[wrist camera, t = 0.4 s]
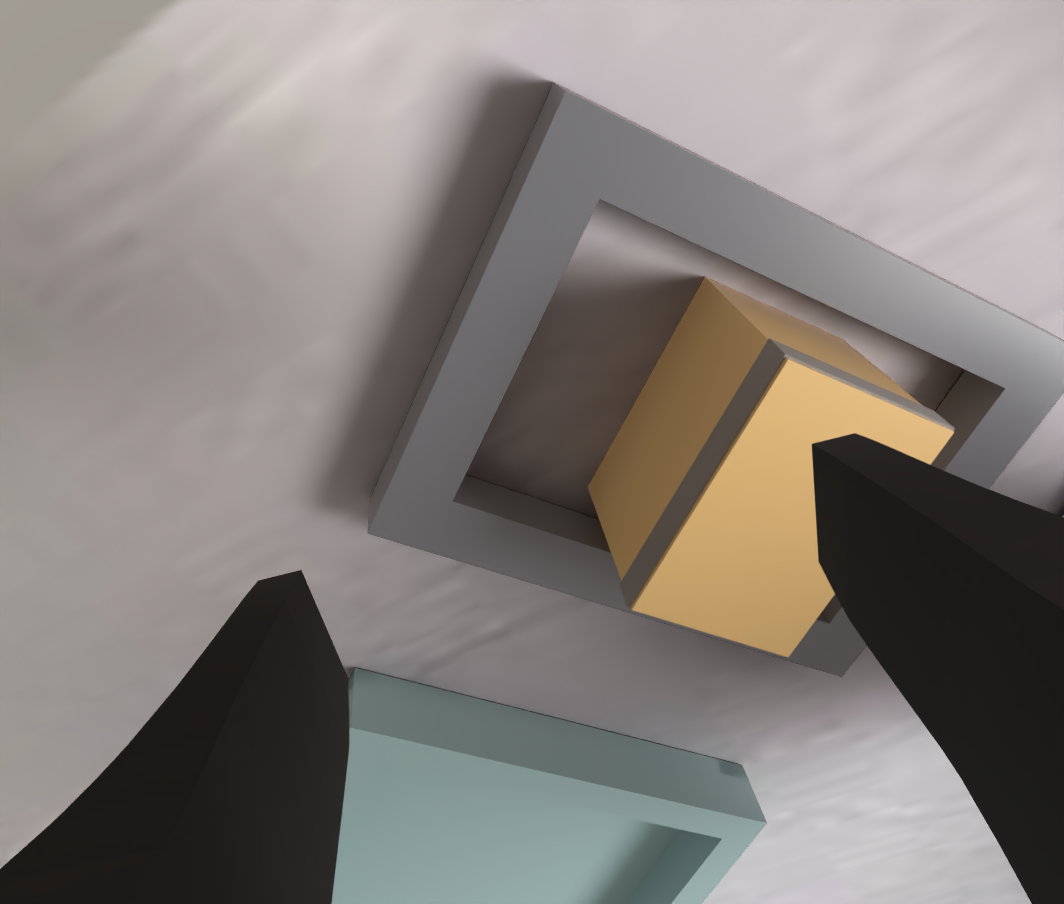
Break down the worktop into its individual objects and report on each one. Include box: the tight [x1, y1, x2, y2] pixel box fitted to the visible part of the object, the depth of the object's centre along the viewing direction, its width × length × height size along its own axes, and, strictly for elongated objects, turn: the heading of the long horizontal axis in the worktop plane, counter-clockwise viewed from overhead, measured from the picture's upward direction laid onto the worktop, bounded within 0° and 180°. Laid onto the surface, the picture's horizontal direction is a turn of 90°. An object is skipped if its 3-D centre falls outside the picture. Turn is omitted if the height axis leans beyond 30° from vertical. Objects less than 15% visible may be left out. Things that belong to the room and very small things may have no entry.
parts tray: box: [332, 668, 767, 904], centre depth 28 cm, size 13×13×2 cm
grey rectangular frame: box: [368, 82, 1064, 677], centre depth 21 cm, size 14×10×2 cm
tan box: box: [588, 277, 955, 657], centre depth 20 cm, size 4×6×5 cm
